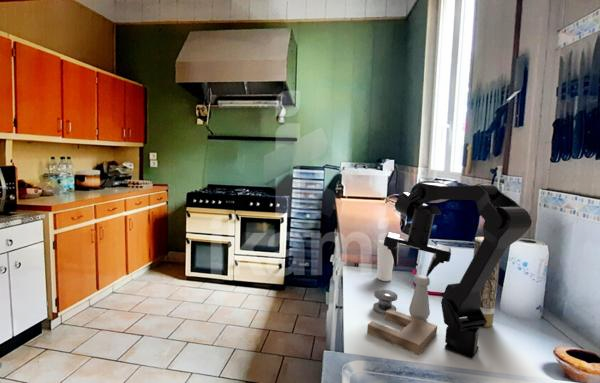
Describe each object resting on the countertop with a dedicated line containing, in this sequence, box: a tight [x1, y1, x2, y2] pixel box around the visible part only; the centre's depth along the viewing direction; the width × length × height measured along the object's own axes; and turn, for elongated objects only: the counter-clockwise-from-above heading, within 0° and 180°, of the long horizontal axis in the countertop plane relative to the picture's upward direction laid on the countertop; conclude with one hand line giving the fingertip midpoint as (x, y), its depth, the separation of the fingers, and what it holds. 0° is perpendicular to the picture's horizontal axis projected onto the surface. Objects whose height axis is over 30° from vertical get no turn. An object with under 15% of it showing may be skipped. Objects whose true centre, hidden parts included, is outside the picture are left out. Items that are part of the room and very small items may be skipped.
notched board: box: [366, 309, 438, 356], centre depth 90 cm, size 14×13×2 cm
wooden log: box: [472, 236, 501, 328], centre depth 98 cm, size 7×7×25 cm
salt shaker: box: [408, 274, 431, 322], centre depth 99 cm, size 6×6×13 cm
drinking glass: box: [376, 239, 394, 282], centre depth 129 cm, size 7×7×15 cm
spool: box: [372, 289, 398, 315], centre depth 104 cm, size 7×7×5 cm
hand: (411, 271), depth 103 cm, fingers open, 9 cm apart
